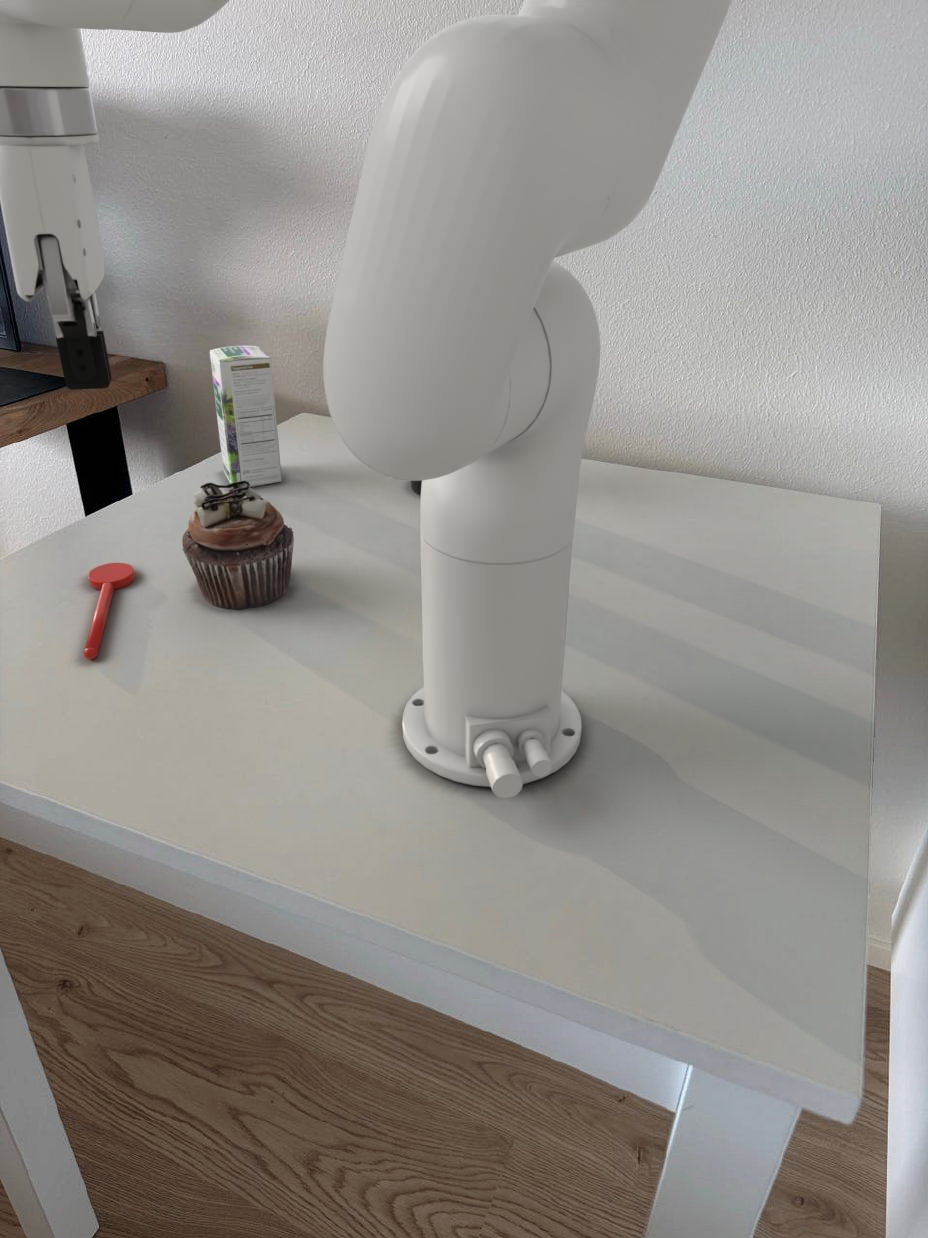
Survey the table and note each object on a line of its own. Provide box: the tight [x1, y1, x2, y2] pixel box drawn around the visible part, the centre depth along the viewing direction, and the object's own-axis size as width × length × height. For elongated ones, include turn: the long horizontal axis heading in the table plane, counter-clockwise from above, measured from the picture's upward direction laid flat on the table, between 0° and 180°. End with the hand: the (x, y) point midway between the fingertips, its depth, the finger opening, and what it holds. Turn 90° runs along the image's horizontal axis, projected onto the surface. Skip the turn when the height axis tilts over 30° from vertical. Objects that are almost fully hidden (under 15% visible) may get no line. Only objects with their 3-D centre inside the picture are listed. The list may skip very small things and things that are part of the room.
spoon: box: [83, 562, 136, 660], centre depth 78 cm, size 16×4×1 cm, turn 12°
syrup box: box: [209, 345, 283, 488], centre depth 101 cm, size 6×6×14 cm
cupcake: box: [181, 481, 295, 610], centre depth 80 cm, size 10×10×10 cm
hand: (90, 385), depth 71 cm, fingers closed
